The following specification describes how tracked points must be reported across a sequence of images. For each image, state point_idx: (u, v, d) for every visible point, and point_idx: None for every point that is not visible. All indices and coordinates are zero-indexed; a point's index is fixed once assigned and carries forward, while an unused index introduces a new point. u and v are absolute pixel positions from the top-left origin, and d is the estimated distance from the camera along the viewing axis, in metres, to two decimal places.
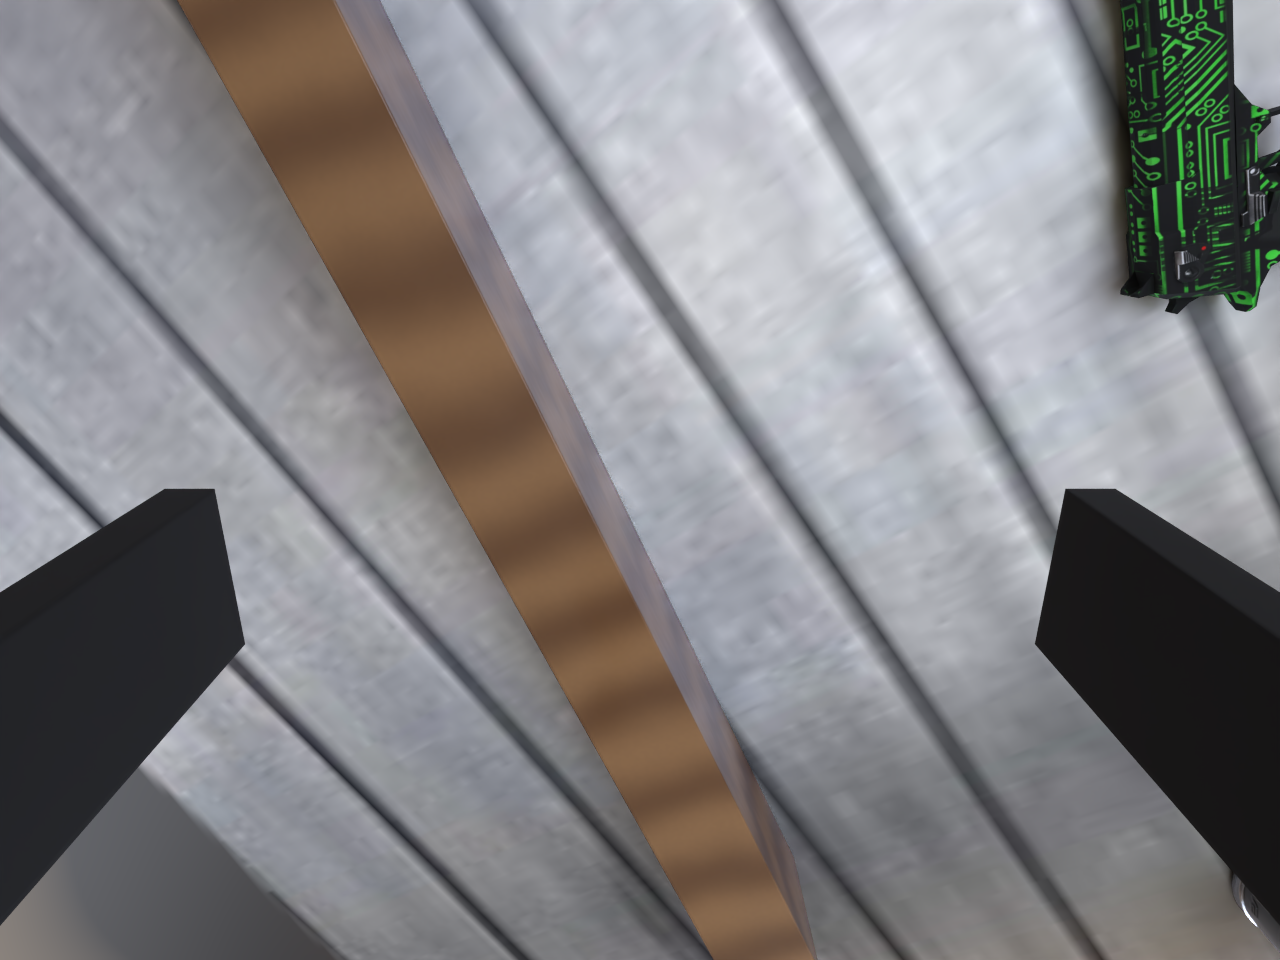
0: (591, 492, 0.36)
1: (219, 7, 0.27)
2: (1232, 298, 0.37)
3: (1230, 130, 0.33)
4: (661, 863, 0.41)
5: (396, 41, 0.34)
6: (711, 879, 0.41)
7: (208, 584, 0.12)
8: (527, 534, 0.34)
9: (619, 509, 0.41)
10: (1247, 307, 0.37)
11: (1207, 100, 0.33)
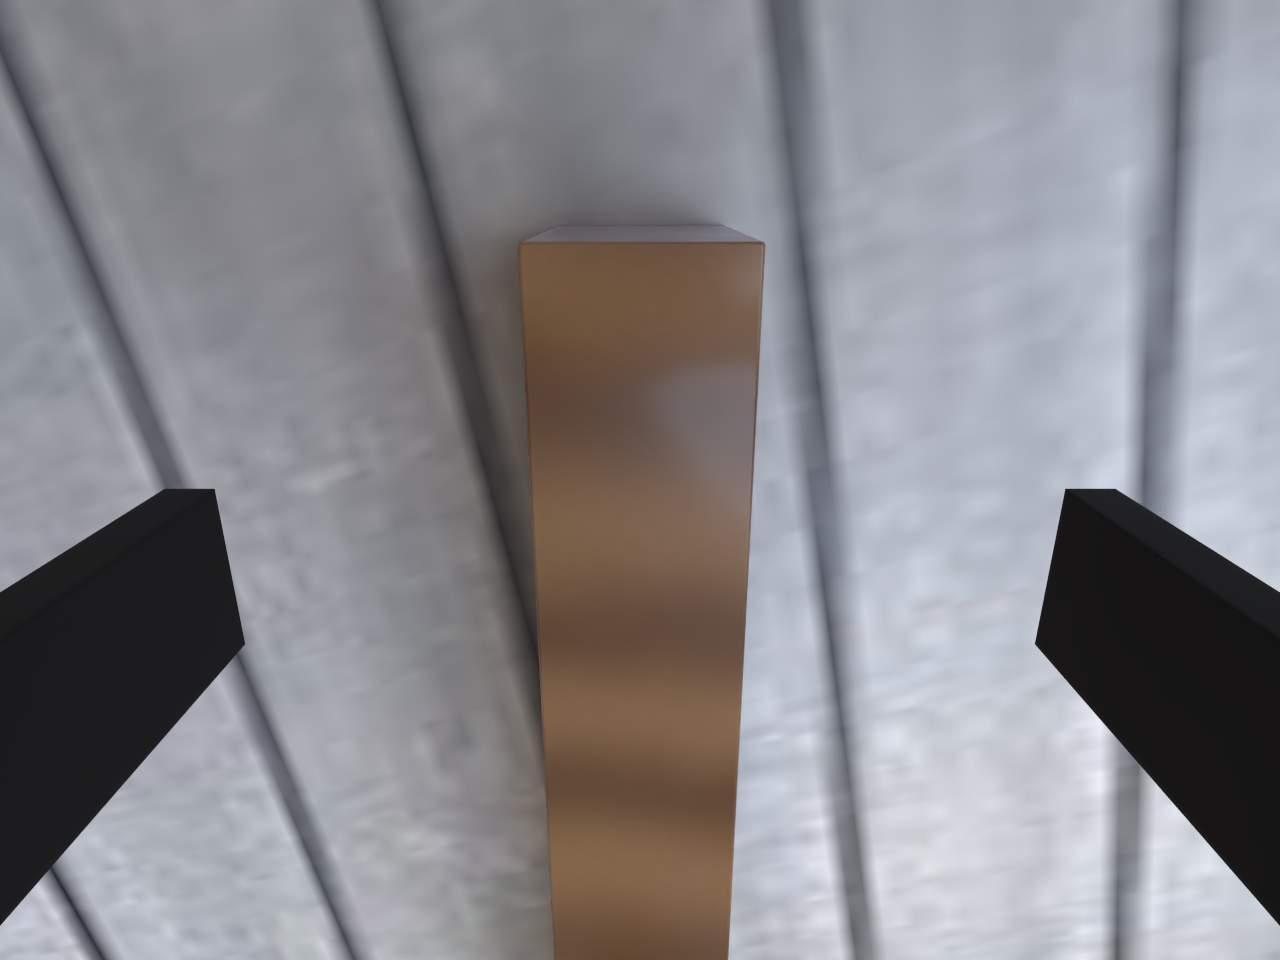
0: None
1: (588, 628, 0.19)
2: None
3: None
4: None
5: None
6: None
7: (208, 584, 0.12)
8: None
9: None
10: None
11: None
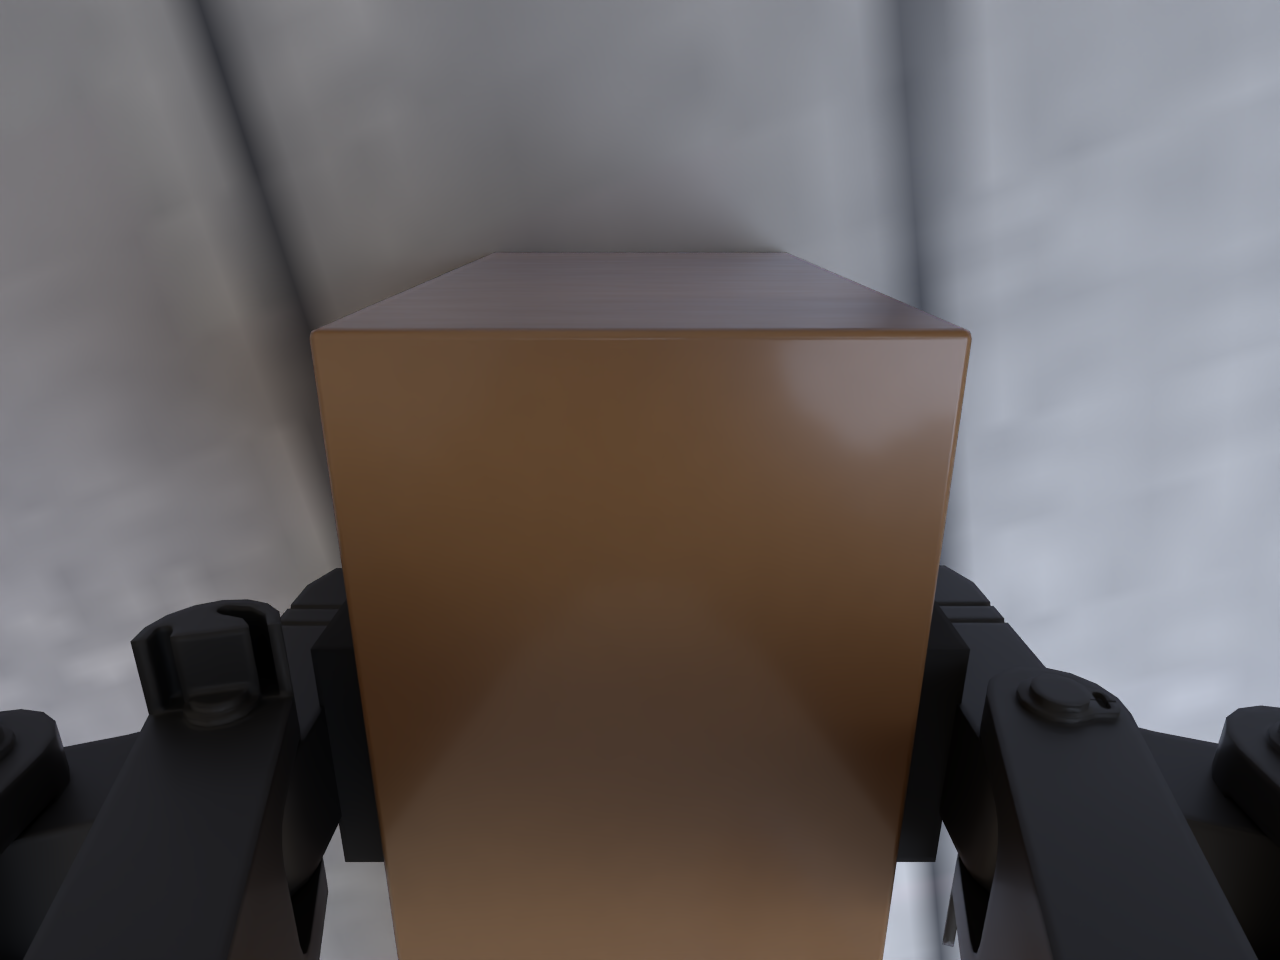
0: None
1: None
2: None
3: None
4: None
5: None
6: None
7: None
8: None
9: None
10: None
11: None
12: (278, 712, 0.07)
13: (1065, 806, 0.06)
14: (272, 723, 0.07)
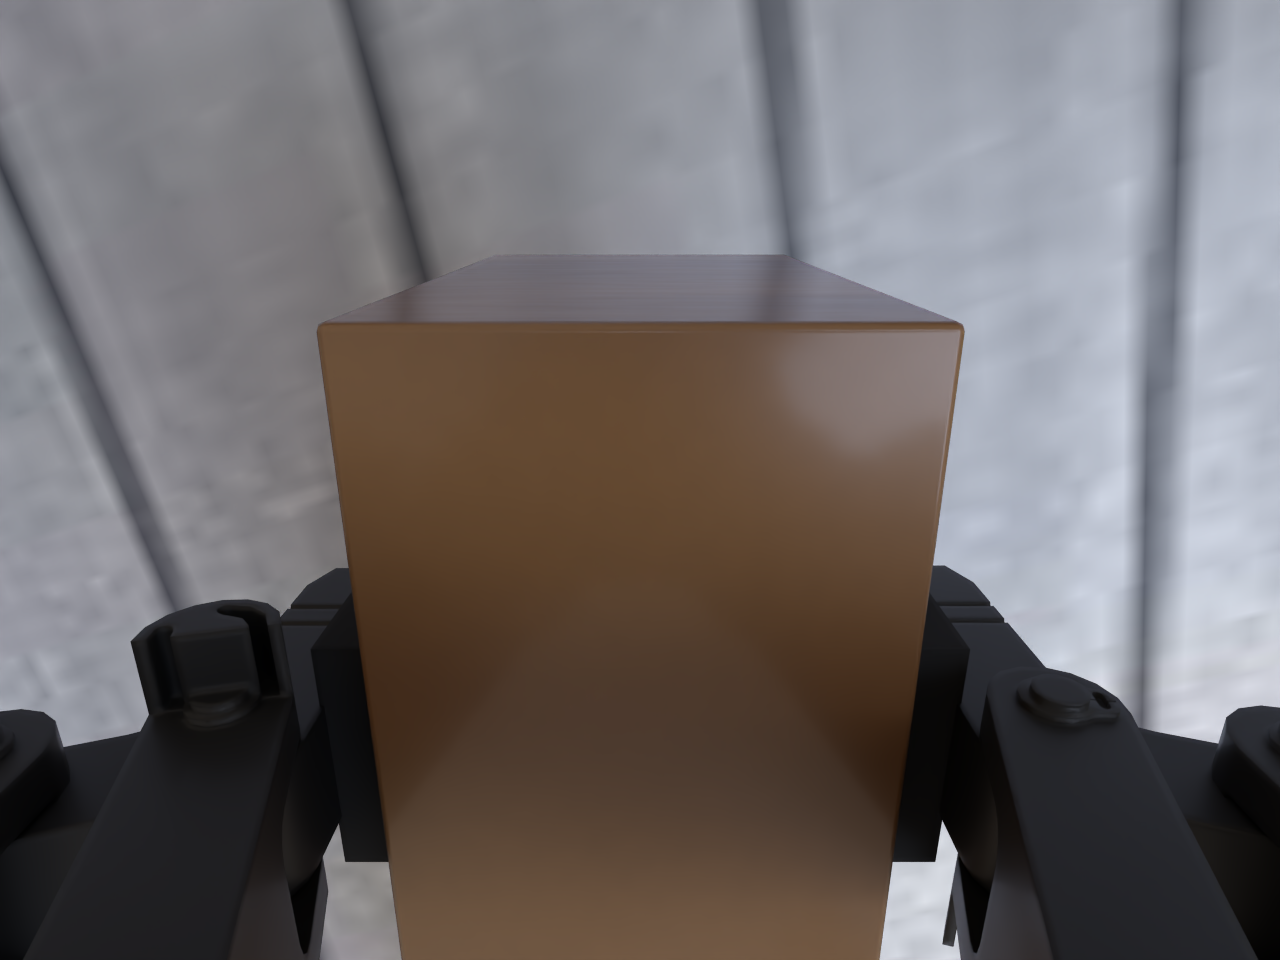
0: None
1: None
2: None
3: None
4: None
5: None
6: None
7: None
8: None
9: None
10: None
11: None
12: (277, 712, 0.07)
13: (1064, 807, 0.06)
14: (271, 723, 0.07)
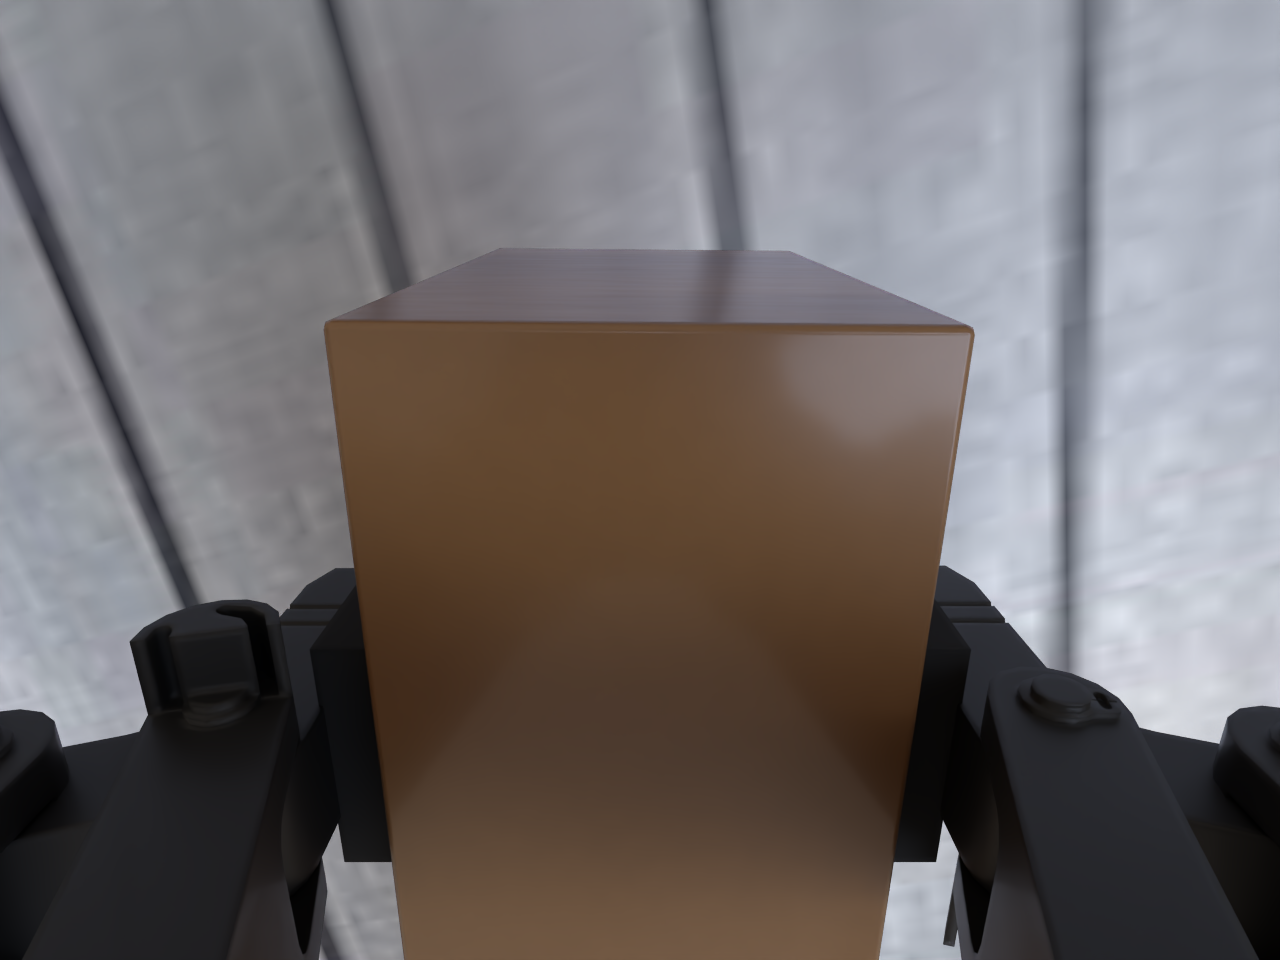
0: None
1: None
2: None
3: None
4: None
5: None
6: None
7: None
8: None
9: None
10: None
11: None
12: (276, 712, 0.07)
13: (1065, 807, 0.06)
14: (270, 723, 0.07)
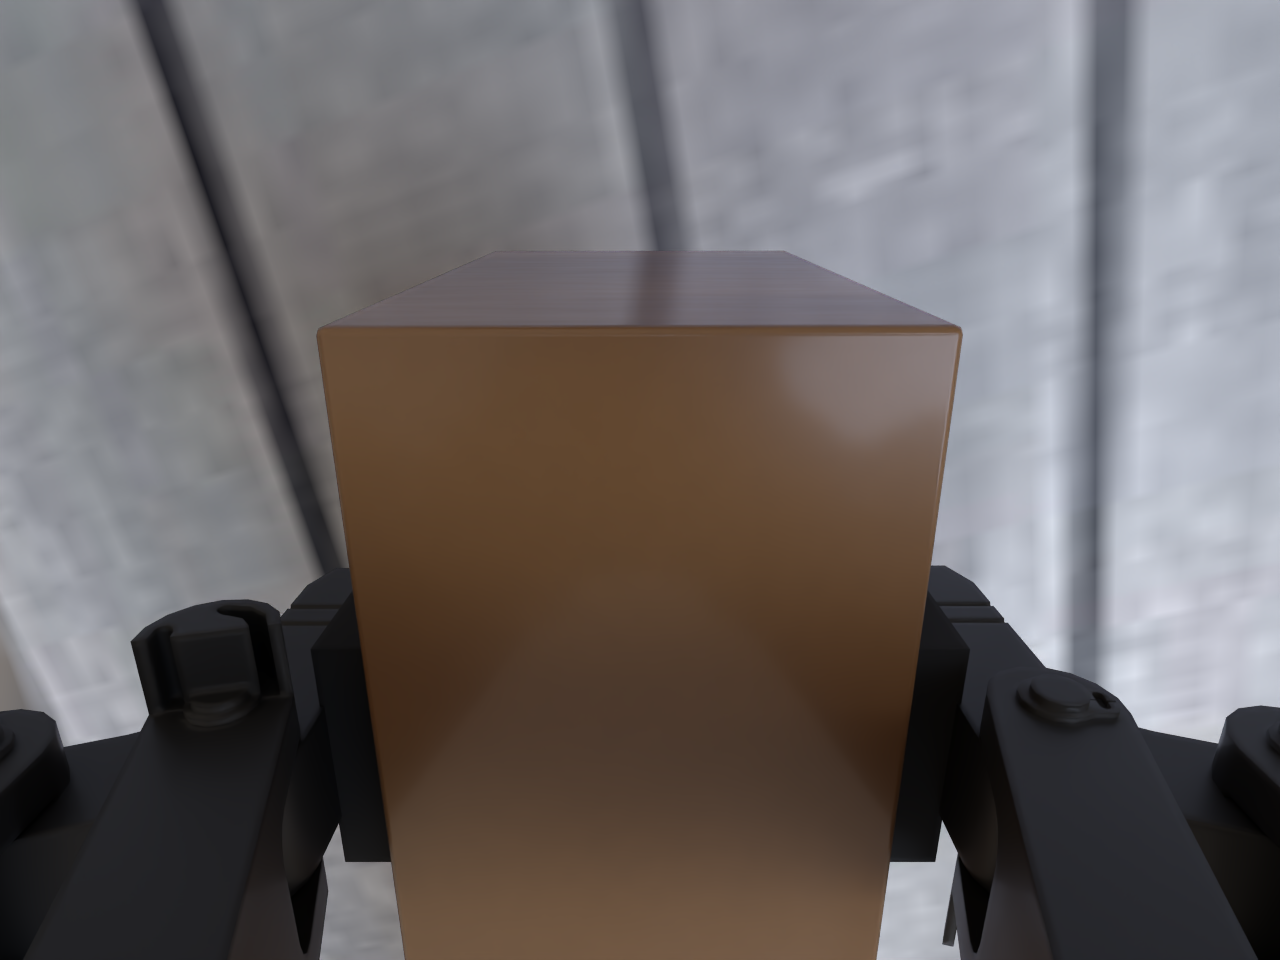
0: None
1: None
2: None
3: None
4: None
5: None
6: None
7: None
8: None
9: None
10: None
11: None
12: (278, 712, 0.07)
13: (1065, 806, 0.06)
14: (272, 723, 0.07)
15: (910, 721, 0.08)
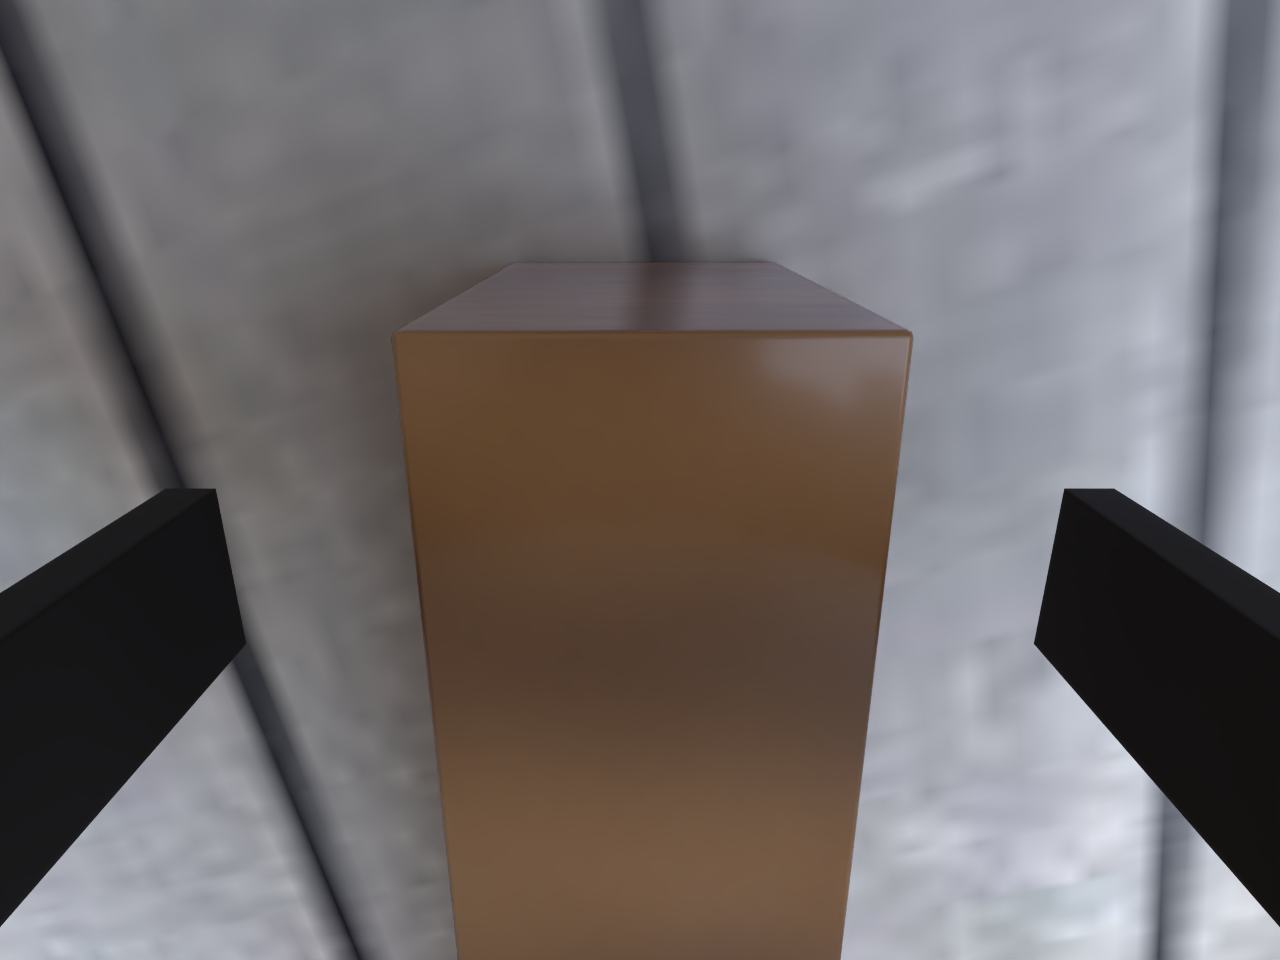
0: None
1: None
2: None
3: None
4: None
5: None
6: None
7: (209, 584, 0.12)
8: None
9: None
10: None
11: None
12: None
13: None
14: None
15: None
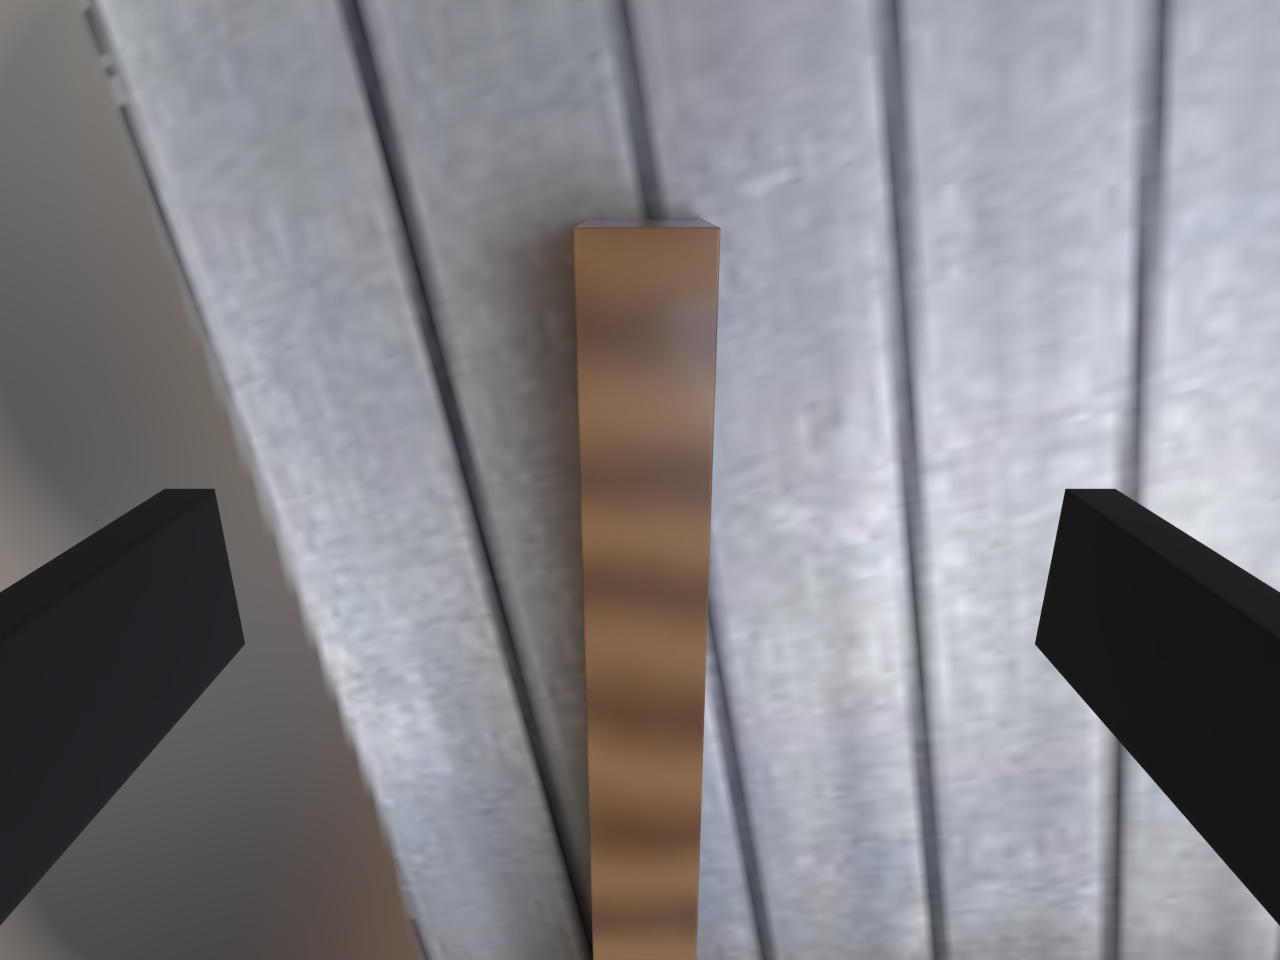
0: None
1: (612, 475, 0.30)
2: None
3: None
4: None
5: None
6: None
7: (208, 584, 0.12)
8: (635, 915, 0.37)
9: None
10: None
11: None
12: None
13: None
14: None
15: None
